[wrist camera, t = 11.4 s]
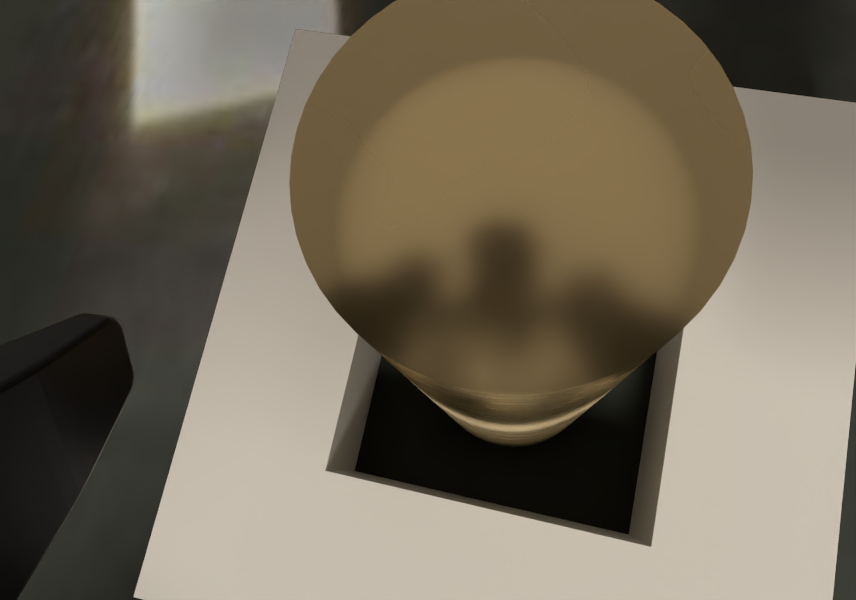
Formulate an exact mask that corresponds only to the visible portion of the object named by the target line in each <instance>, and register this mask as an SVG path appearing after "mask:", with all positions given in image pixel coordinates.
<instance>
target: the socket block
mask: <svg viewBox="0 0 856 600" xmlns="http://www.w3.org/2000/svg"><path fill="white" fill-rule="evenodd" d="M350 37H351V36H344V35H336V34H329V33H321V32H314V31H306V30H298V29H296V30H295V33H294V37H293V40H292V44H291V47H290V51H289V54H288V58H287V61H286V65H285V68H284V72H283V75H282V79H281V82H280V86H279V89H278V93H277V96H276V100H275V103H274V107H273V110H272V114H271V117H270V121H269V124H268V128H267V131H266V135H265V138H264V142H263V145H262V149H261V152H260V156H259V159H258V163H257V166H256V170H255V173H254V177H253V180H252V184H251V187H250V191H249V194H248V198H247V201H246V205H245V208H244V212H243V215H242V219H241V222H240V226H239V229H238V233H237V236H236V240H235V243H234V247H233V250H232V254H231V257H230V261H229V264H228V268H227V271H226V275H225V278H224V282H223V285H222V289H221V292H220V296H219V299H218V303H217V306H216V310H215V313H214V317H213V320H212V324H211V327H210V331H209V334H208V338H207V341H206V345H205V348H204V352H203V355H202V359H201V362H200V366H199V369H198V373H197V376H196V380H195V383H194V387H193V390H192V394H191V397H190V401H189V404H188V408H187V411H186V415H185V418H184V422H183V425H182V429H181V432H180V436H179V439H178V443H177V446H176V450H175V453H174V457H173V460H172V464H171V467H170V471H169V474H168V478H167V481H166V485H165V488H164V492H163V495H162V499H161V502H160V506H159V509H158V513H157V516H156V520H155V523H154V527H153V530H152V534H151V537H150V541H149V544H148V548H147V551H146V555H145V558H144V562H143V565H142V569H141V572H140V576H139V579H138V583H137V586H136V590H135V593H134V597H135V598H139V599H143V600H833V590H834V580H835V569H836V559H837V549H838V538H839V528H840V518H841V508H842V497H843V487H844V477H845V466H846V456H847V446H848V436H849V425H850V415H851V405H852V395H853V384H854V374H855V364H856V103H853V102H846V101H838V100H830V99H823V98H815V97H808V96H800V95H792V94H785V93H777V92H770V91H762V90H754V89H747V88H739V87H733V88H734V90H735V93H736V95H737V98H738V101H739V103H740V106H741V108H742V111H743V113H744V116H745V121H746V125H747V129H748V133H749V137H750V142H751V152H752V163H753V183H752V200H751V205H750V210H749V215H748V220H747V224H746V229H745V232H744V235H743V238H742V240H741V243H740V246H739V248H738V251H737V254H736V257H735V259H734V261H733V263H732V264H731V266H730V268H729V270H728V272H727V274H726V275H725V277H724V279H723V281H722V283H721V285H720V286H719V287H718V289H717V290H716V292H715V293H714V294H713V296H712V297H711V298H710V300H709V301H708V302H707V304H706V305H705V306H704V308H703V309H702V310H701V311H700V312H699V313H698V314H697V315H696V316H695V317H694V318H693V319H692V320H691V321H690V322H689V323H688V324H687V325H686V326H685V327H684V328H683V329H682V330H681V331H680V332H679V333H678V334H677V335H676V336H675V337H674V338H672V339H671V340H670V341H669V342H668V343H666V344H665V345H664V346H663V347H662V348H660V349H659V350H658V351H657V355H656V362H655V368H654V374H653V381H652V387H651V394H650V400H649V407H648V413H647V420H646V426H645V433H644V439H643V446H642V452H641V458H640V465H639V471H638V478H637V484H636V491H635V497H634V504H633V510H632V517H631V523H630V529H629V535H628V534H624V533H620V532H615V531H611V530H607V529H602V528H598V527H594V526H589V525H585V524H581V523H577V522H572V521H568V520H564V519H559V518H555V517H551V516H546V515H542V514H538V513H533V512H529V511H525V510H521V509H516V508H512V507H508V506H503V505H499V504H495V503H490V502H486V501H482V500H478V499H473V498H469V497H465V496H460V495H456V494H452V493H447V492H443V491H439V490H435V489H430V488H426V487H422V486H417V485H413V484H409V483H404V482H400V481H396V480H391V479H387V478H383V477H379V476H374V475H370V474H366V473H361V472H357V471H355V468H356V463H357V459H358V455H359V451H360V446H361V442H362V438H363V433H364V429H365V425H366V421H367V416H368V412H369V408H370V404H371V399H372V395H373V391H374V386H375V382H376V378H377V374H378V369H379V365H380V361H381V357H382V355H381V354H379V353H378V352H377V351H376V350H375V349H374V348H373V347H372V346H370V345H369V344H368V343H367V342H366V341H365V340H364V339H363V338H362V337H360V336H359V335H358V334H357V333H356V332H355V331H354V330H353V329H352V328H351V327H350V326H349V325H348V324H347V323H346V322H345V320H344V319H343V318H342V317H341V316H340V315H339V314H338V313H337V312H336V311H335V309H334V308H333V307H332V305H331V304H330V302H329V301H328V300H327V298H326V297H325V296H324V294H323V293H322V291H321V290H320V289H319V287H318V285H317V283H316V281H315V279H314V277H313V275H312V274H311V272H310V270H309V268H308V266H307V264H306V262H305V259H304V256H303V253H302V250H301V248H300V245H299V242H298V239H297V236H296V231H295V227H294V222H293V217H292V212H291V202H290V187H289V179H290V164H291V154H292V149H293V144H294V139H295V135H296V130H297V127H298V124H299V121H300V118H301V115H302V112H303V110H304V107H305V104H306V102H307V100H308V98H309V96H310V94H311V92H312V90H313V88H314V86H315V84H316V82H317V80H318V78H319V77H320V75H321V74H322V72H323V71H324V69H325V68H326V66H327V65H328V64H329V62H330V61H331V59H332V58H333V56H334V55H335V54H336V53H337V52H338V51H339V49H340V48H341V47H342V46H343V45H344V44H345V42H346V41H347V40H348V39H349V38H350Z"/></svg>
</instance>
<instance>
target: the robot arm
mask: <svg viewBox="0 0 856 600" xmlns="http://www.w3.org/2000/svg"><path fill="white" fill-rule="evenodd" d="M133 381H134V371H133V366H132V362H131V358H130V355H129V351H128V347H127V343H126V339H125V336H124V332H123V328H122V325H121V324H120V322H119V321H118V320H117V319H116V318H114V317H112V316H106V315H97V314H86V313H85V314H79V315H76V316H74V317H71V318H69V319H66V320H64V321H61V322H59V323H56V324H54V325H51V326H49V327H46V328H44V329H41V330H39V331H36V332H34V333H31V334H29V335H26V336H24V337H21V338H18V339H16V340H13V341H11V342H8V343H6V344H3V345H1V346H0V600H17V598H18V597H19V595H20V593H21V592H22V590H23V589H24V587H25V585H26V584H27V582H28V580H29V579H30V577H31V576H32V574H33V572H34V571H35V569H36V567H37V566H38V564H39V563H40V561H41V559H42V558H43V556H44V554H45V553H46V551H47V550H48V548H49V546H50V545H51V543H52V541H53V540H54V538H55V537H56V535H57V533H58V532H59V530H60V528H61V527H62V525H63V524H64V522H65V520H66V519H67V517H68V515H69V514H70V512H71V510H72V509H73V507H74V505H75V503H76V502H77V500H78V498H79V497H80V495H81V493H82V491H83V489H84V487H85V485H86V483H87V481H88V479H89V478H90V475H91V473H92V471H93V469H94V467H95V465H96V463H97V461H98V459H99V457H100V455H101V452H102V450H103V448H104V446H105V444H106V442H107V440H108V438H109V436H110V434H111V432H112V429H113V427H114V425H115V423H116V421H117V419H118V417H119V415H120V413H121V411H122V409H123V407H124V404H125V402H126V400H127V398H128V396H129V394H130V392H131V389H132V386H133Z"/></svg>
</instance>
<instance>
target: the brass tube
mask: <svg viewBox="0 0 856 600" xmlns="http://www.w3.org/2000/svg"><path fill="white" fill-rule="evenodd" d="M752 183H753V163H752V152H751V142H750V137H749V133H748V129H747V125H746V121H745V116H744V113H743V111H742V108H741V106H740V103H739V101H738V98H737V95H736V93H735V90H734V88H733V86H732V84H731V83H730V81H729V79H728V77H727V76H726V74H725V72H724V70H723V69H722V67H721V65H720V63H719V62H718V61H717V59H716V58H715V57H714V56H713V54H712V53H711V52H710V50H709V49H708V48H707V46H706V45H705V44H704V43H703V41H702V40H701V39H700V38H699V37H698V36H697V35H696V34H695V33H694V32H693V31H692V30H691V29H690V28H689V27H688V26H687V25H686V24H685V23H684V22H683V21H682V20H680V19H679V18H678V17H676V16H675V15H674V14H672V13H671V12H670V11H668V10H667V9H666V8H665V7H663V6H662V5H661V4H659V3H658V2H656V1H654V0H396V1H394V2H393V3H391V4H390V5H389V6H387V7H386V8H384V9H383V10H382V11H380V12H379V13H377V14H376V15H375V16H373V17H372V18H370V19H369V20H368V21H367V22H366V23H365V24H364V25H363V26H362V27H361V28H359V29H358V30H357V31H356V32H355V33H354V34H353V35H352V36H351V37H350V38H349V39H348V40H347V41H346V42H345V44H344V45H343V46H342V47H341V48H340V49H339V51H338V52H337V53H336V54H335V55H334V56H333V58H332V59H331V61H330V62H329V64H328V65H327V66H326V68H325V69H324V71H323V72H322V74H321V75H320V77H319V78H318V80H317V82H316V84H315V86H314V88H313V90H312V92H311V94H310V96H309V98H308V100H307V102H306V104H305V107H304V110H303V112H302V115H301V118H300V121H299V124H298V127H297V130H296V135H295V139H294V144H293V149H292V154H291V164H290V179H289V187H290V202H291V212H292V217H293V222H294V227H295V231H296V236H297V239H298V242H299V245H300V248H301V250H302V253H303V256H304V259H305V262H306V264H307V266H308V268H309V270H310V272H311V274H312V275H313V277H314V279H315V281H316V283H317V285H318V287H319V289H320V290H321V291H322V293H323V294H324V296H325V297H326V298H327V300H328V301H329V302H330V304H331V305H332V307H333V308H334V309H335V311H336V312H337V313H338V314H339V315H340V316H341V317H342V318H343V319H344V320H345V322H346V323H347V324H348V325H349V326H350V327H351V328H352V329H353V330H354V331H355V332H356V333H357V334H358V335H359V336H360V337H362V338H363V339H364V340H365V341H366V342H367V343H368V344H369V345H370V346H372V347H373V348H374V349H375V350H376V351H377V352H378V353H379V354H381V355H382V356H383V357H384V358H385V359H386V360H387V361H388V362H390V363H391V364H392V365H393V366H394V367H395V368H396V369H397V370H399V371H400V372H401V373H402V374H403V375H404V376H405V377H406V378H407V379H409V380H410V381H411V382H412V383H413V384H414V385H415V386H416V387H418V388H419V389H420V390H421V391H422V392H423V393H424V394H425V395H427V396H428V397H429V398H430V399H431V400H432V401H433V402H434V403H436V404H437V405H438V406H439V407H440V408H441V409H442V410H443V411H445V412H446V413H447V414H448V415H449V416H450V417H451V418H452V419H453V420H455V421H456V422H457V423H458V424H459V425H460V426H461V427H463V428H464V429H465V430H466V431H468V432H469V433H470V434H472V435H473V436H475V437H477V438H478V439H481V440H483V441H485V442H488V443H491V444H494V445H498V446H504V447H524V446H531V445H535V444H539V443H541V442H544V441H546V440H548V439H550V438H552V437H554V436H555V435H557V434H558V433H560V432H561V431H562V430H564V429H565V428H566V427H567V426H569V425H570V424H571V423H572V422H573V421H575V420H576V419H577V418H578V417H579V416H581V415H582V414H583V413H584V412H585V411H587V410H588V409H589V408H590V407H591V406H592V405H594V404H595V403H596V402H597V401H598V400H600V399H601V398H602V397H603V396H604V395H606V394H607V393H608V392H609V391H610V390H612V389H613V388H614V387H615V386H616V385H618V384H619V383H620V382H621V381H622V380H623V379H625V378H626V377H627V376H628V375H629V374H631V373H632V372H633V371H634V370H635V369H637V368H638V367H639V366H640V365H641V364H643V363H644V362H645V361H646V360H647V359H649V358H650V357H651V356H652V355H653V354H655V353H656V352H657V351H658V350H659V349H660V348H662V347H663V346H664V345H665V344H666V343H668V342H669V341H670V340H671V339H672V338H674V337H675V336H676V335H677V334H678V333H679V332H680V331H681V330H682V329H683V328H684V327H685V326H686V325H687V324H688V323H689V322H690V321H691V320H692V319H693V318H694V317H695V316H696V315H697V314H698V313H699V312H700V311H701V310H702V309H703V308H704V306H705V305H706V304H707V302H708V301H709V300H710V298H711V297H712V296H713V294H714V293H715V292H716V290H717V289H718V287H719V286H720V285H721V283H722V281H723V279H724V277H725V275H726V274H727V272H728V270H729V268H730V266H731V264H732V263H733V261H734V259H735V257H736V254H737V251H738V248H739V246H740V243H741V240H742V238H743V235H744V232H745V229H746V224H747V220H748V215H749V210H750V205H751V200H752Z"/></svg>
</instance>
